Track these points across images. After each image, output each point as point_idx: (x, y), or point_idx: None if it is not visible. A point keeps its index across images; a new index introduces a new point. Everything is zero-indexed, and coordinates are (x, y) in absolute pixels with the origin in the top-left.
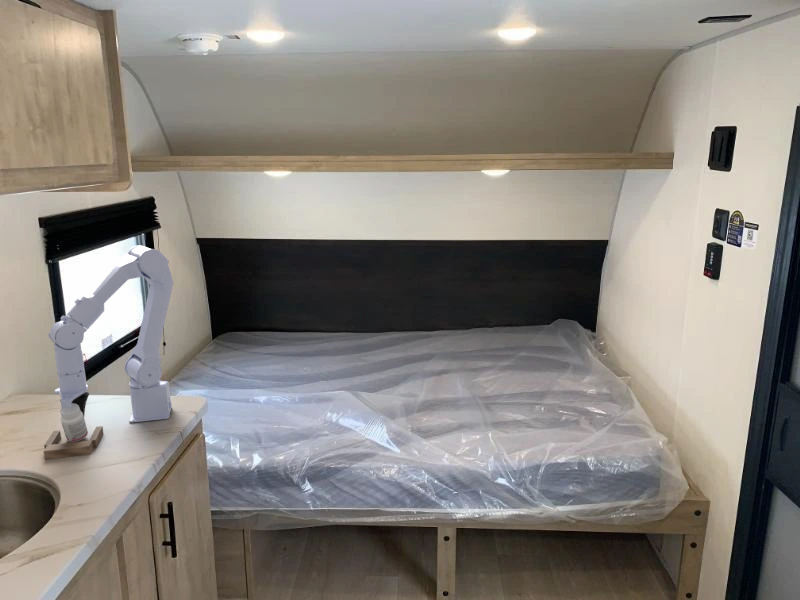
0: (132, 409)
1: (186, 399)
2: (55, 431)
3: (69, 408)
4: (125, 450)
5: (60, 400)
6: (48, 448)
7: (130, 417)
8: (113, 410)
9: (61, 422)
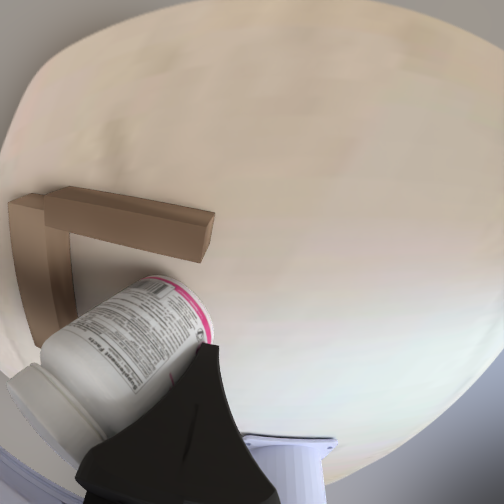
0: (276, 466)
1: (324, 481)
2: (193, 238)
3: (45, 437)
4: None
5: (84, 480)
6: (19, 219)
7: (276, 440)
8: (388, 398)
9: (60, 331)
